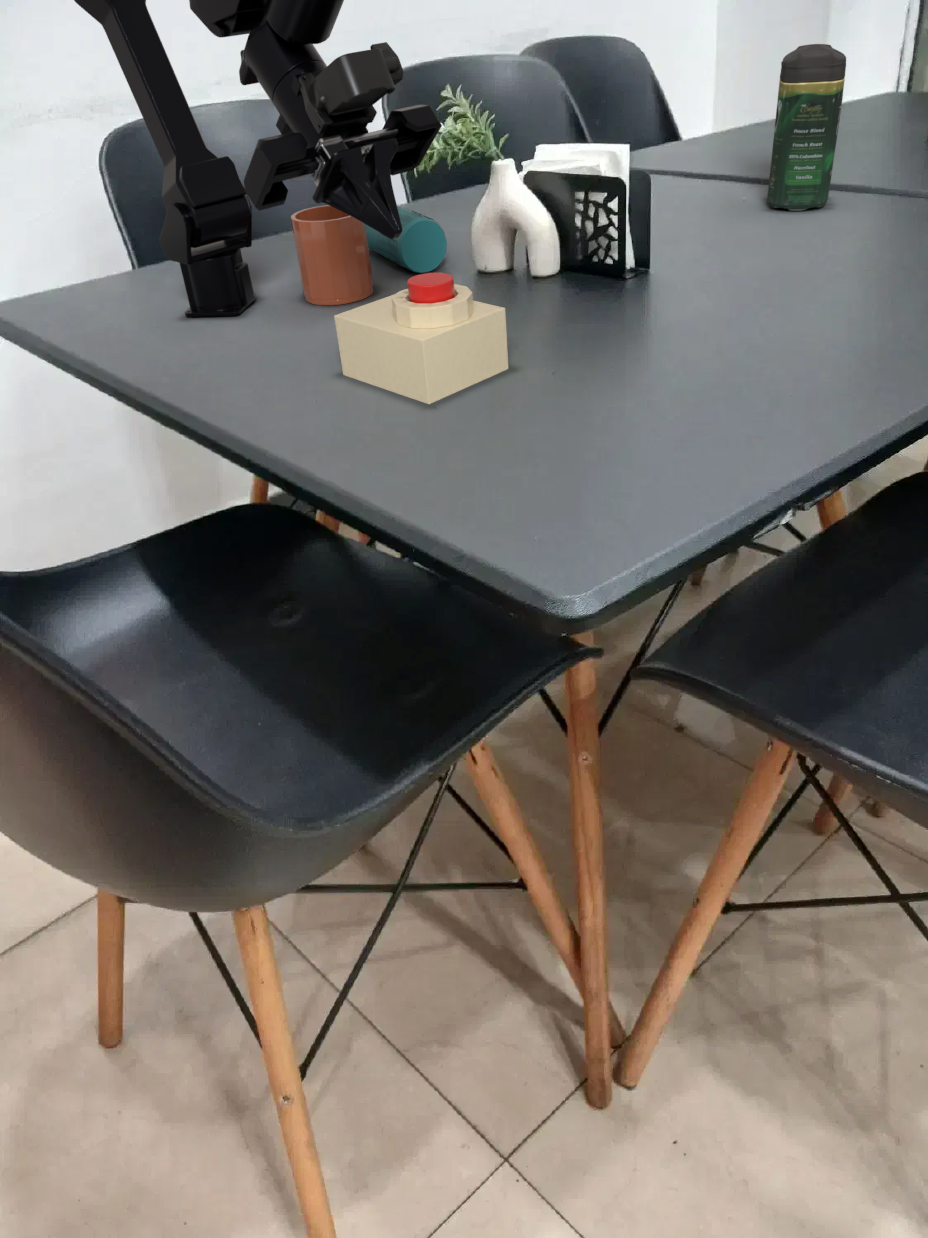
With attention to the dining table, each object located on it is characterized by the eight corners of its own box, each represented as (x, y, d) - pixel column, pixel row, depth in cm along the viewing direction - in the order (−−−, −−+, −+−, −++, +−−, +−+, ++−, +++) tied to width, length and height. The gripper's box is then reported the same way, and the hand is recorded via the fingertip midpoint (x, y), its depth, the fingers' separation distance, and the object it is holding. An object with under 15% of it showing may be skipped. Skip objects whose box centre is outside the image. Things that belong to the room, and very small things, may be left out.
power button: (400, 301, 85) (397, 281, 84) (433, 289, 87) (431, 269, 86) (430, 309, 83) (428, 288, 82) (464, 296, 85) (462, 276, 84)
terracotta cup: (296, 306, 110) (281, 223, 105) (315, 285, 117) (302, 205, 112) (364, 304, 109) (352, 219, 104) (380, 282, 116) (370, 202, 110)
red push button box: (343, 375, 91) (330, 295, 87) (421, 344, 97) (413, 267, 92) (429, 405, 84) (420, 319, 80) (508, 369, 89) (504, 287, 85)
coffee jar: (830, 211, 126) (852, 46, 115) (766, 213, 128) (782, 50, 117) (826, 194, 134) (847, 38, 123) (766, 196, 136) (781, 42, 125)
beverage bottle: (430, 207, 111) (365, 180, 126) (392, 252, 112) (332, 220, 127) (464, 247, 116) (397, 216, 131) (428, 290, 116) (365, 254, 131)
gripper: (233, 22, 73) (345, 195, 73) (417, -3, 83) (516, 149, 83) (201, 131, 82) (300, 284, 82) (370, 97, 93) (458, 233, 92)
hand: (397, 235), depth 85 cm, fingers closed
